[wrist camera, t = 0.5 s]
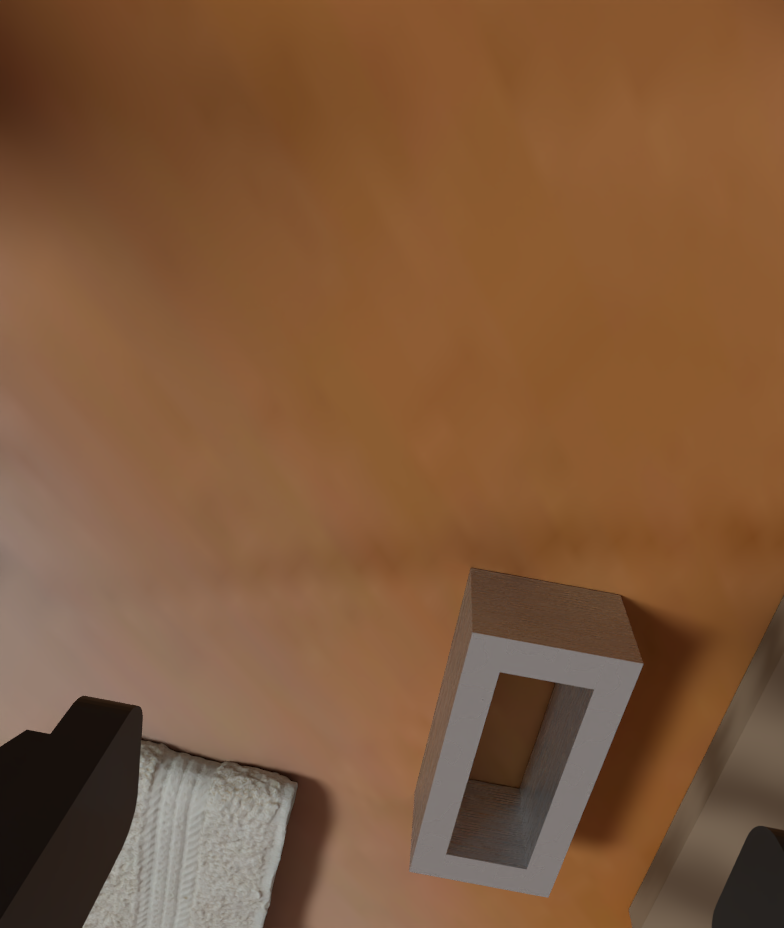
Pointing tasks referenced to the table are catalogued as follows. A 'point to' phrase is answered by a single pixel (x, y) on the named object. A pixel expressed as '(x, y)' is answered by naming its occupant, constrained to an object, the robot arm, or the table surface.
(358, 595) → the table surface
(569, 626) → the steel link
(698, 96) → the table surface
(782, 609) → the keeper plate
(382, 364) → the table surface
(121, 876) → the washcloth
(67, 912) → the robot arm
